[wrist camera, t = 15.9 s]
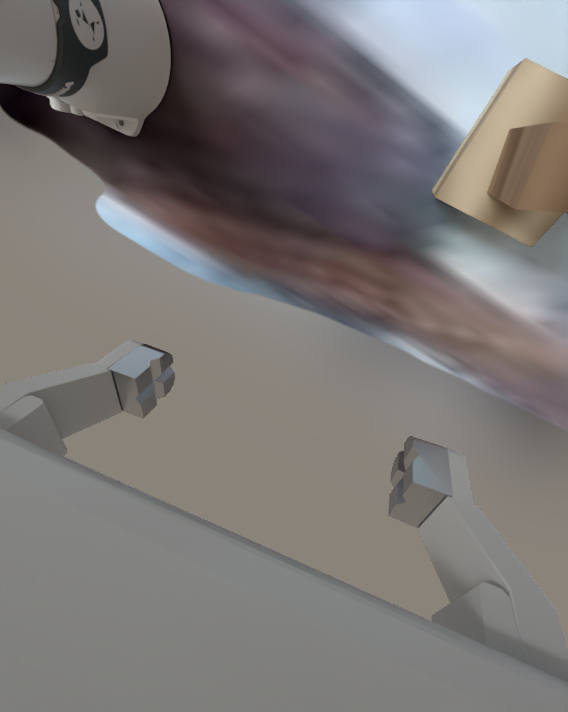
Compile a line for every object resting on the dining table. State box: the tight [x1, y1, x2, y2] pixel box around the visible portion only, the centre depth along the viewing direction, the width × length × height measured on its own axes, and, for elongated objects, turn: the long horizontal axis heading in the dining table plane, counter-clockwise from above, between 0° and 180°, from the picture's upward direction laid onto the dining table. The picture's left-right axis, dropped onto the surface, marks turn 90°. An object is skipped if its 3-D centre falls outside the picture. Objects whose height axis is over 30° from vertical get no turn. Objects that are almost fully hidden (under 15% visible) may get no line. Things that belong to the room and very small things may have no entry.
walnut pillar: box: [487, 122, 568, 213], centre depth 24 cm, size 5×5×10 cm
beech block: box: [432, 58, 568, 247], centre depth 30 cm, size 11×11×6 cm
